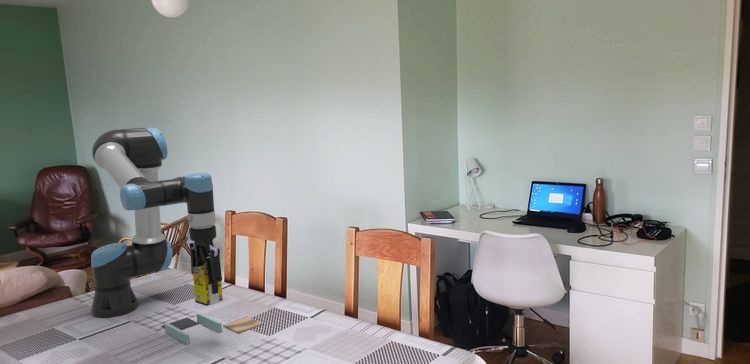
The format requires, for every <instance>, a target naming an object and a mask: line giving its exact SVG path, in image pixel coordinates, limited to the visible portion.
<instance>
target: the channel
mask: <svg viewBox="0 0 750 364" xmlns="http://www.w3.org/2000/svg"><path fill="white" fill-rule="evenodd" d="M196 322H197V323H199V324H200V325H202V326H203V327H207V328H209V329H211V330H213V331H215V332H217V333H218V334H221V333H222V332H223V325H222V322H221V321H218V320H216V319H214V318H212V317H210V316H207V315H205V314H204V313H201V312H197V313H196ZM169 323H170V322H166V323H164V325H165V328H164V331H165V333H166V335H169V336H170V337H172V338H175V339H176V340H178V341H179V342H182V343H183V344H184V345H186V346H187V345H190V344H191V340H190V334H189V333H188V332H185V331H184V330H180V329H178V328H176V327H175V326H173V325H171V324H169Z"/></svg>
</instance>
